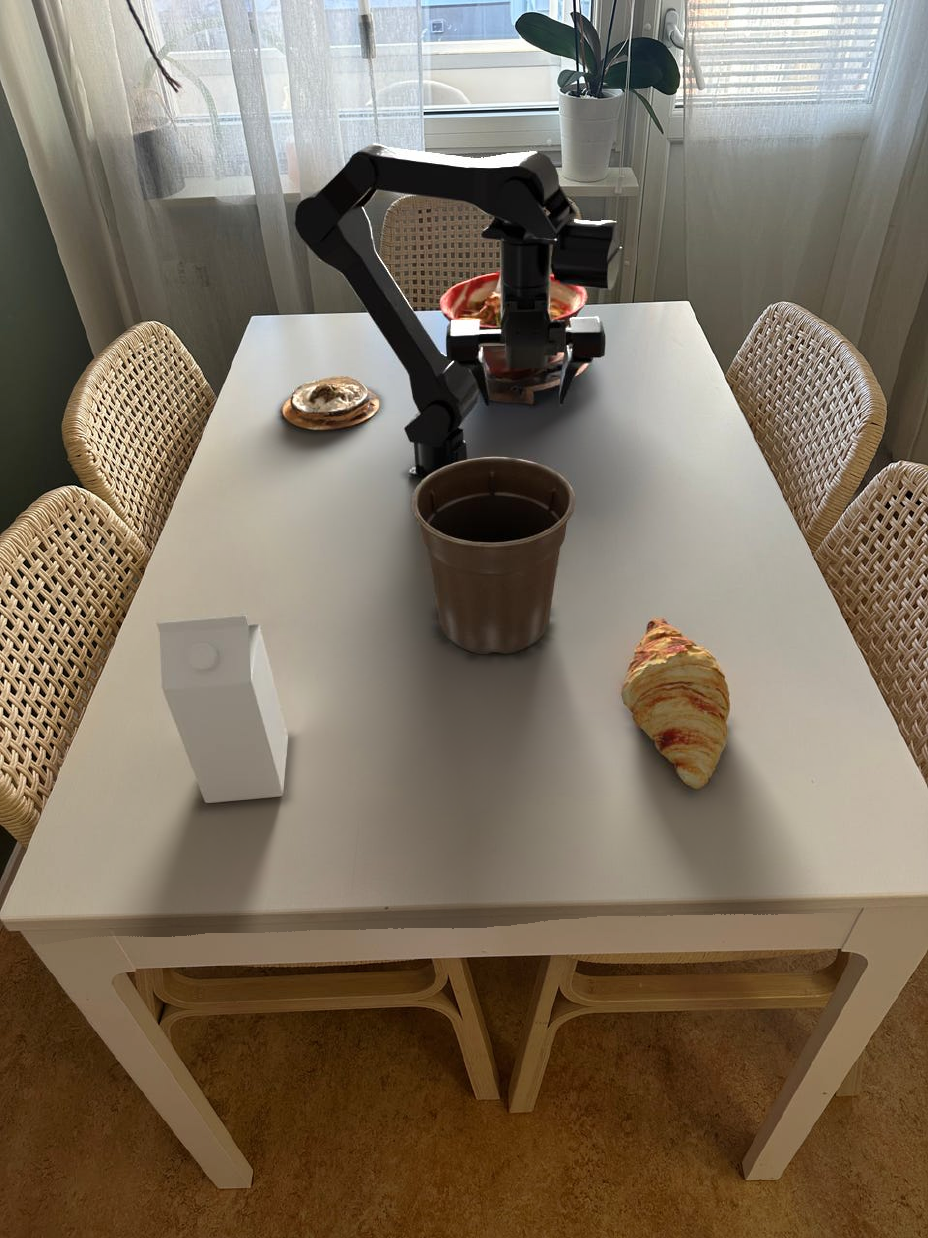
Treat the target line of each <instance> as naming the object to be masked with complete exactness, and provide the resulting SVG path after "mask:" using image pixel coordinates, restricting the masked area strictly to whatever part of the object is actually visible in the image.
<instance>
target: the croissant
mask: <svg viewBox="0 0 928 1238" xmlns="http://www.w3.org/2000/svg"><path fill="white" fill-rule="evenodd" d="M633 652H634V654H635V655H634V656H633V658H632V660H631V661H630V663H629V666H628V667H627V671H626V680H625V681H624V683H623V685H622V687H621V690H620V694H621V697H622V702H623V703H622V704H623V705H625V707H627V709H628V710H629V712H630V713H631V714H632V720H633V721H634V722H635V724H636V726H637V727H638V728H639V729H641V730H643V732H645V734H646V735H647V736H649V738H650V740H654V744H655V745H654V746H655V748H656V749H657V751H658V752H659V754H660V755H661V756H664V757H665V758H666V759H667V760H668V761H669V763H672V764H673V765H674V766H673V768H674V769H675V772H676V775H677V776H678V777H679V778H680V779H681V781H682V782H683V783H684V784H685V785H687V786H689V787H690V788H693V789H701V788H703V787H704V786H705V785H706V784H708V782H709V779H711V777H712V776H713V773H714V772H715V771H716V766H717V765H718V763H719V761H720V759H721V755H722V752H723V751H724V749H725V747H726V744H727V739H728V724H727V721H728V718H729V715H730V710H731V702H730V692H729V686H728V683H727V681H726V676H725V674H724V673H723V670H722V667H721V666H720V664H719V663H718V661H717V659H716V658H715V657H714V655H713V654H712V653H711V652H710V651H709V650H708V649H706V648H705V647H703V646H698V645H697V644H696V642H694V641H693V640H692V639H690V638H688V637H685V636H684V634H683V633H682V632H681V631H680V630H679V629H677V628H676V627H674V626H672V625H670V624H669V623H668V622H667V621H666V619H665V618H664V617H660V618H652V619H651V620H650V621H649V622H648V623H647V625H646V631H645V635H644V636H643V637H642V638H641V639H640V642H638V644H637V646H636V647H635V650H634V651H633Z"/></svg>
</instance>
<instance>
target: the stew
mask: <svg viewBox="0 0 928 1238" xmlns="http://www.w3.org/2000/svg"><path fill="white" fill-rule="evenodd" d="M500 280H501V279H500V270H499V271H495V273H488V274H484V275H479V276H476V277H473V278H472V279H469V280H465V281H462V282H459V283H457V284H456V285H454V286H452V287H451V288H449V289H448V290H446V291H445V293H444V294H443V295H442V296H441V297H440V300H439V304H438V306H439V309H440V311H441V313H442V315H443V317H444V318H445V319H446V320H447V321H448V322H449V323H450V322H451V321H466V320H479V330H501V323H500V321H501V285H500ZM587 302H588V292H587V290H586V289H585V287H579V286H570V285H562V284H560V282H559V281H558V280H555V279H554V274H553V273H550V311H549V315H550V318H551V319H554V321H561V320H565V323H566V328H568V327H569V319H570V318H578V315H579V313H580V311H581V310H582V309H583V308H584V307H585V305H586V303H587ZM483 352H484V359H485V364H486V366H487V367H488V368H487V369H486V373H487V377H488V376H489V377H491V378H489V379H488V378H487V380H488V387H489V401H495V402H505V403H516V404H517V403H524V404H529V405H534V397H535V396H534V392H538V391H543V390H546V389H550V388H554V387H557V386H559V385H560V378H561V371H562V364H563V356H564V353H557V356H555V355H554V356H548V363H547V365H546V366H544V367H542V368H535V367H519V368H516V369H514V368H509V367H508V366H507V365H506V362H505V347H483ZM589 364H590V363H587V364H584V365H583V366H581V367H580V368H579V370H578V371H577V373H576V375H575V377H577V376H578V375H580V374H581V373H582V372H583V371H584V370H585V369H586V368H587V367H588V365H589ZM471 373H472V372H471ZM476 385H477V387H478V384H477V382H476ZM513 389H515V390H513ZM520 389H522V392H521V394H520ZM478 390H479V392H480V389H479V387H478Z"/></svg>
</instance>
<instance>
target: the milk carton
mask: <svg viewBox="0 0 928 1238" xmlns="http://www.w3.org/2000/svg"><path fill="white" fill-rule="evenodd" d="M156 627H157V629H158V633H159V649H160V653H159V654H160V675H161V689H162V691H163V694H164V698H165V700H166V702H167V706H168V708H169V711H170V713H171V717H172V718H173V721H174V723H175V726H176V729H177V733H178V734H179V737H180V739H181V742H182V745H183V748H184V751H185V753H186V755H187V758H188V761H189V764H190V767H191V769H192V771H193V774H194V777H195V780H196V782H197V785H198V787H199V790H200V793H201V795H202V799H203V801H204V803H206V804H210V803H211V804H214V803H222V802H223V803H225V802H234V801H245V800H246V801H247V800H256V799H268V798H269V799H270V798H279V797H282V796H283V795H284V791H285V790H284V787H285V777H286V766H287V755H288V745H289V744H288V743H289V736H288V731H287V727H286V724H285V719H284V716H283V715H284V714H283V712H282V708H281V704H280V700H279V696H278V692H277V689H276V684H275V681H274V680H275V679H274V676H273V673H272V669H271V668H272V667H271V665H270V662H269V661H270V660H269V657H268V653H267V649H266V645H265V642H264V638H263V633H262V629H261V626H260V624H259V623H252V624H251V623H250V624H249V621H248V617H247V615H246V613H245V614H235V615H232V614H231V615H221V616H210V617H196V618H185V619H173V620H163V621H161V620H160V621H156Z"/></svg>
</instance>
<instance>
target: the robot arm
mask: <svg viewBox="0 0 928 1238" xmlns="http://www.w3.org/2000/svg"><path fill="white" fill-rule="evenodd" d="M557 170H558V169H557V168H556V166H555V165H554V163H553V162H552V161H551V158H550V157H549V156H547V155H546V154H543V153H541V152H538V151H529V152H528V151H527V152H514V153H506V154H505V153H504V154H501V155H496V156H490V157H484V158H483V157H481V158H473V157H472V158H471V157H464V156H457V155H449V154H441V153H433V152H425V151H417V150H409V149H401V148H394V147H387V146H385V145H382V144H379V143H372V144H369V145H368V146H365V147H364V148H362V149H360V150H358V151H356V152H355V153H353V154H352V155H351V156H350V158H349V160H348V161H347V163H346V164H344V166H343V168H342V169H341V170H340V171H339V172H338V173H337V174H336V175H334V177H333V178H332V179H331V180H330V181H329V182H328V183H327V184H325V186H323V188H321V189H319V190H318V191H316V192H314V193H312V194H310V195H309V196H307V197H305V198H304V199H302V200H300V202H299V203H298V204H297V206H296V209H295V212H294V213H295V214H294V215H295V216H294V217H295V218H294V223H293V225H294V227H295V231H296V232H297V234H298V236H299V238H300V239H301V241H303V242H304V244H305V245H306V246H307V247H308V248H309V249H310V251H311V252H312V253H313V254H314V255H315V256H316V257H317V258H318V260H319V261H321V262H323V263H324V264H326V265H327V266H329V267H331V268H332V269H334V270H335V271H337V272H339V273H340V274H341V275H342V276H343V278H344V279H345V280H346V282H347V283H348V285H349V286H350V288H351V289H352V290H353V292H354V294H355V295H356V296H357V298H358V300H359V301H360V303H361V304H362V306H363V307H364V309H365V310H366V312H367V313H368V315H369V317H370V318H371V320H372V321H373V322H374V324H375V326H376V327H377V329H378V331H380V333H381V334H382V336H383V337H384V339H385V340H386V342H387V344H388V345H389V347H390V348H391V350H392V352H394V354H395V356H396V357H397V359H398V360H399V362H400V364H401V365H402V366H403V368H404V369H405V371H406V373H407V375H408V378H409V384H410V385H409V386H410V390H411V397H412V400H413V402H414V405H415V406H416V409H417V411H418V412H417V413H416V414H415V415H414V417H413V418H412V419H411V420H410V421H409V422H408V423H407V424H406V425H405V426H404V433H405V435H406V437H407V439H408V441H409V442H410V443H412V444H413V453H414V466H413V467H411V468H410V469H409V470H408V473H409V475H410V476H413V477H417V478H419V479H422V480H424V479H425V478H426V477H427V476H429V475H430V474H432V473H433V472H435V471H437V470H439V469H441V468H443V467H445V466H448V465H451V464H453V463H457V462H461V461H465V460H468V447H467V441H465V438H464V437H465V435H464V433H465V432H464V429H463V428H460V426H461V425H462V424H463V423H464V422H465V420H466V419H467V418H468V416H469V415H470V414H471V413H472V411H473V410H474V409H475V408H476V406H477V404H478V402H479V396H480V395H481V396H482V400H483V402H484V405H485V407H490V400H489V387H488V380H487V379H488V373H486V370H487V367H486V366H487V365H486V362H485V359H484V352H483V347H505V362H506V365H507V366H508V367H509V368H514V369H516V368H519V367H535V368H542V367H544V366H546V365H547V363H548V356H554V355H555V356H557V353H564V356H563V364H562V371H561V378H560V384H559V385H558V386H559V387H558V404H559V406H562V405H563V404H564V403H565V400H566V397H567V395H568V392H569V390H570V388H571V386H572V383H573V381H574V378H575V377H576V376H577V375H576V373H577V371H578V370H579V368H580V367H581V366H583V365H584V364H587V363H589V364H592V363H593V361H594V359H598V358H599V359H601V358H603V357H605V355H606V354H605V353H606V341H607V340H606V333H605V327H604V324H603V321H602V320H601V319H600V318H599V317H598V316H585V317H581V316H580V317H576V318H570V319H569V325H568V327H566V323H565V320H561V321H554V319H551V318H550V315H549V311H550V274H554V279H555V280H558V281H559V282H560V284H562V285H570V286H579V287H584V288H587V289H596V290H597V289H598V290H608V291H611V290H613V288H614V287H615V284H616V281H617V278H618V274H619V270H620V265H621V264H620V263H621V255H622V247H620V236H619V234H618V231H617V230H618V222H617V221H613V220H601V221H590V220H581V219H580V220H579V219H576V217H577V215H578V214H577V211H576V210H575V208H574V206H573V205H572V203H571V202H570V199H569V198H568V196H567V194H566V193H565V191H564V189H563V188H562V187H561V184H560V180H559V179H560V177H559V173H558V171H557ZM378 191H382V192H390V193H397V194H404V195H411V196H418V197H425V198H432V199H437V200H438V199H439V200H445V201H452V202H458V203H459V202H461V203H465V204H468V205H471V206H474V207H475V208H477V209H478V210H480V211H481V212H482V213H484V214H486V216H487V215H488V216H490V217H492V218H493V220H492V221H491V223H490V224H489V225H488V227H486V228H485V229H484V230H483V231H481V237H482V239H485V240H497V241H499V262H500V263H499V265H500V266H499V267H500V269H499V271H500V279H501V280H500V285H501V321H500V323H501V330H479V320H466V321H451V322H450V321H449V323H448V325H447V326H446V334H445V335H446V336H445V353H442V352H441V351H440V350H439V348H438V347H437V346H436V344H435V342H434V341H433V339H432V337H431V336H430V334H429V333H428V331H427V330H426V328H425V327H424V325H423V323H422V322H421V320H420V319H419V317H418V315H417V314H416V312H415V311H414V309H413V308H412V306H411V304H410V303H409V302H408V300H407V298H406V297H405V295H404V293H403V292H402V290H401V289H400V287H399V285H398V284H397V283H396V281H395V280H394V278H393V277H392V275H391V273H390V272H389V270H388V269H387V267H386V265H385V263H384V262H383V261H382V259H381V258H380V256H379V255H378V253H377V251H376V248H375V244H374V243H375V241H374V237H373V231H372V225H371V221H370V220H369V217H368V215H367V212H366V210H365V207H366V206H367V205H368V203H370V202H371V200H372V199H373V198H374V197H375V195H376V194H377V192H378ZM545 210H546V211H548V212H549V214H548V215H547V213H546V211H545ZM471 372H472V373H471ZM575 375H576V376H575ZM476 382H477V384H478V387H479V389H480V391H479V389H478V387H477V385H476Z"/></svg>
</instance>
